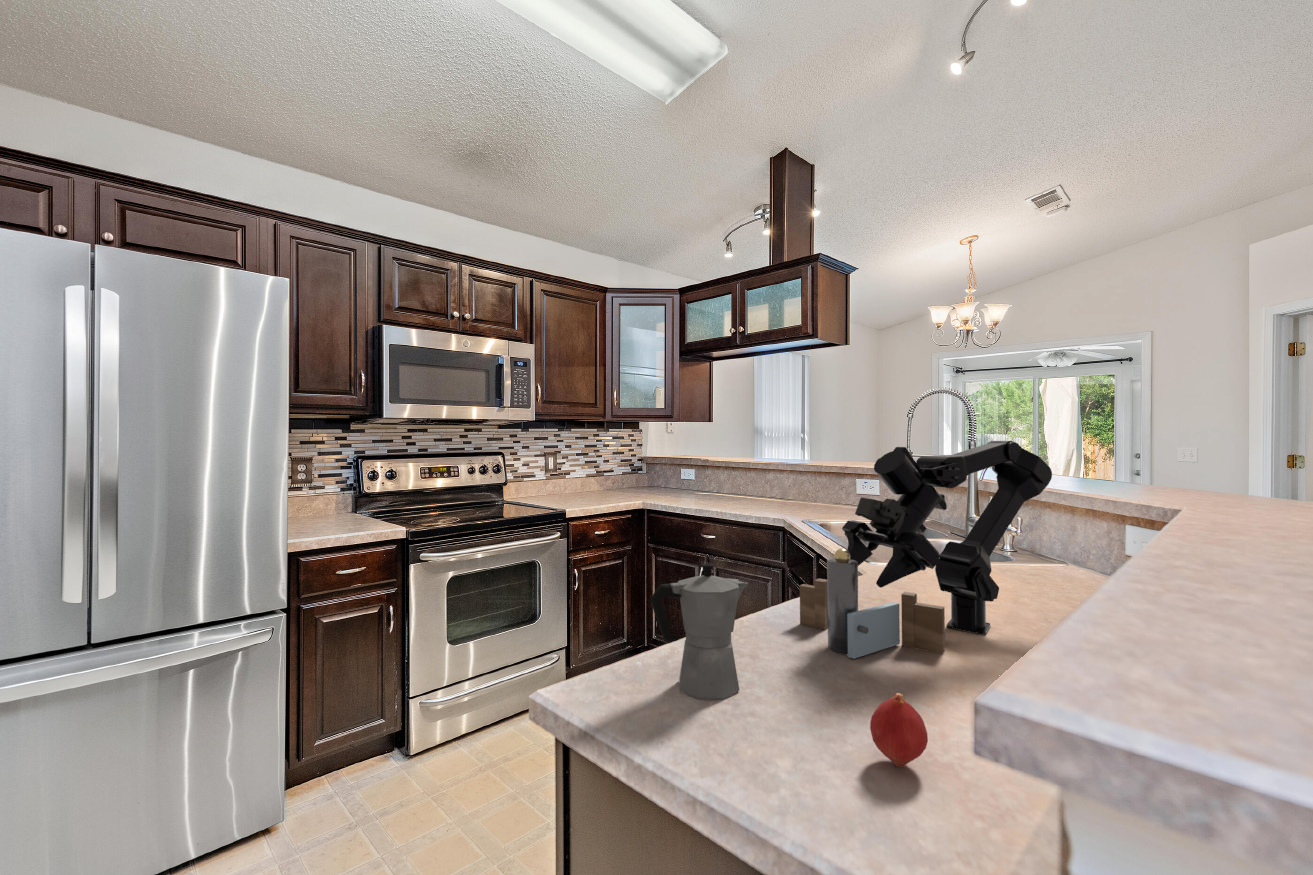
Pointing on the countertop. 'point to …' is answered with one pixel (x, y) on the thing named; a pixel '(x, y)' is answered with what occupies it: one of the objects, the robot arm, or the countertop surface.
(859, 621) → the gate
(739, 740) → the countertop surface
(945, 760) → the countertop surface
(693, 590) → the coffeepot
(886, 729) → the onion
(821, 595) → the fence
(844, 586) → the grey tall cylinder
